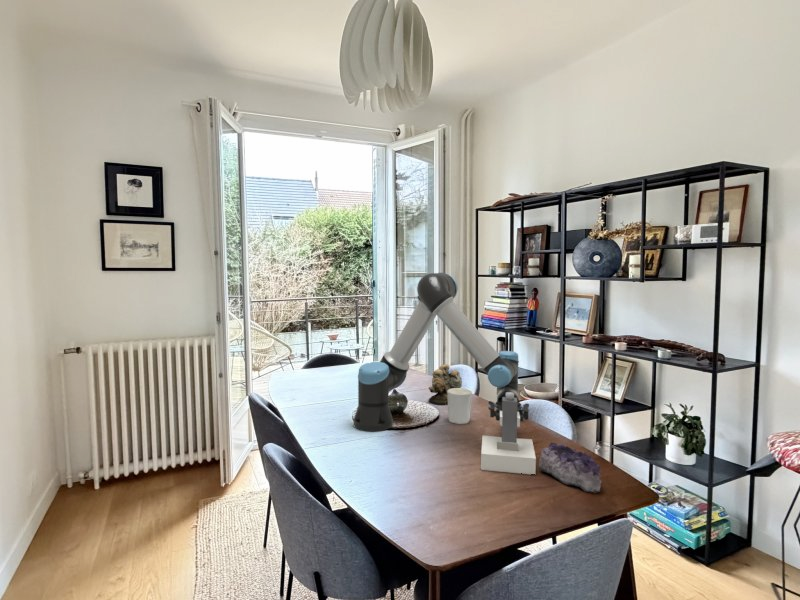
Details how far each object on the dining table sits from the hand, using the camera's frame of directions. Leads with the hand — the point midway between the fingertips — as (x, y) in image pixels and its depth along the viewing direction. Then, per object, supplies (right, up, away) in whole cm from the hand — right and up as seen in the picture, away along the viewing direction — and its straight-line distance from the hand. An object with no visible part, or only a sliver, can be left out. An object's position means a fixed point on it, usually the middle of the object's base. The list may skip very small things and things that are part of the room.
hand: (509, 421), depth 145 cm
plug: (+1, -7, +6) cm, 9 cm away
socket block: (+1, -14, +6) cm, 16 cm away
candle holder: (-10, -11, +46) cm, 49 cm away
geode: (+17, -16, -5) cm, 24 cm away
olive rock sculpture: (-13, -10, +73) cm, 75 cm away
